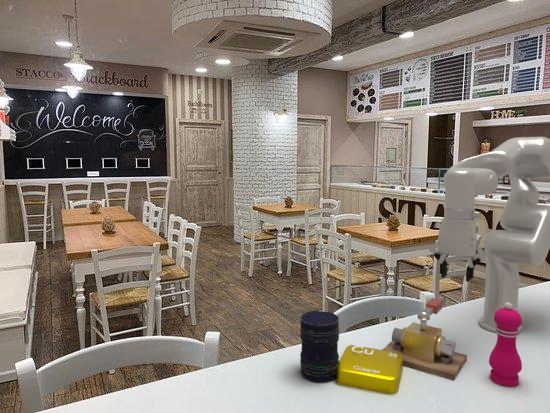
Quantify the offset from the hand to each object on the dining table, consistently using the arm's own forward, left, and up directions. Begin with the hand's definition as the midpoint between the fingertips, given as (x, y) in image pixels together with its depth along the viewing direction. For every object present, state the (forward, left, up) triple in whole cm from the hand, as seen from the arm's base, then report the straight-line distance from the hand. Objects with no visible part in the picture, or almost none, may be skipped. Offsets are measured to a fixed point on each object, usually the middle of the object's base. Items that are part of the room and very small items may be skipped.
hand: (456, 277), depth 120 cm
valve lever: (+5, -5, -10) cm, 13 cm away
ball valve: (+10, -5, -20) cm, 23 cm away
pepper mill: (+9, +14, -22) cm, 28 cm away
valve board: (+10, -6, -22) cm, 24 cm away
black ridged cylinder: (+33, -25, -22) cm, 46 cm away
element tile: (+26, -14, -22) cm, 37 cm away
